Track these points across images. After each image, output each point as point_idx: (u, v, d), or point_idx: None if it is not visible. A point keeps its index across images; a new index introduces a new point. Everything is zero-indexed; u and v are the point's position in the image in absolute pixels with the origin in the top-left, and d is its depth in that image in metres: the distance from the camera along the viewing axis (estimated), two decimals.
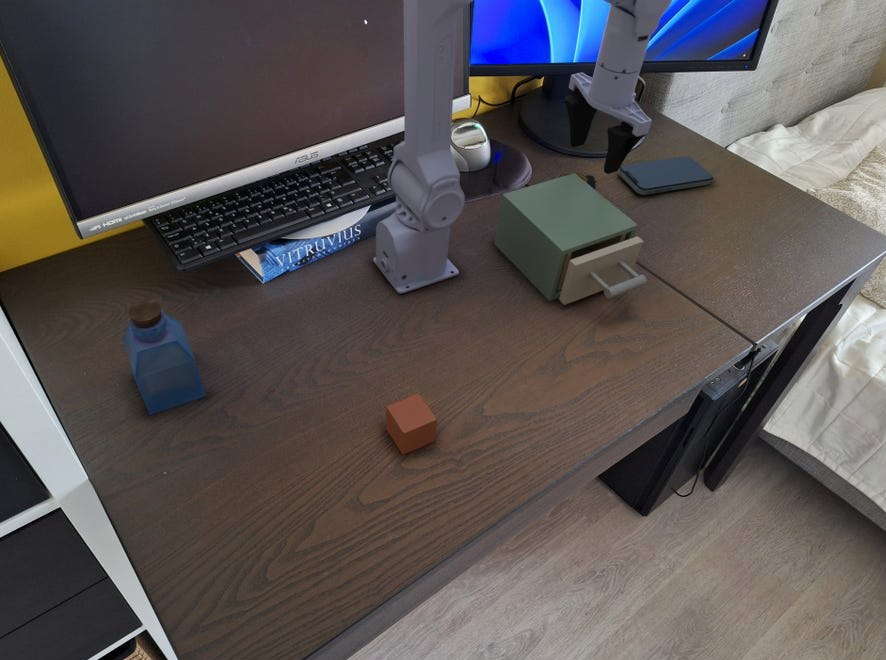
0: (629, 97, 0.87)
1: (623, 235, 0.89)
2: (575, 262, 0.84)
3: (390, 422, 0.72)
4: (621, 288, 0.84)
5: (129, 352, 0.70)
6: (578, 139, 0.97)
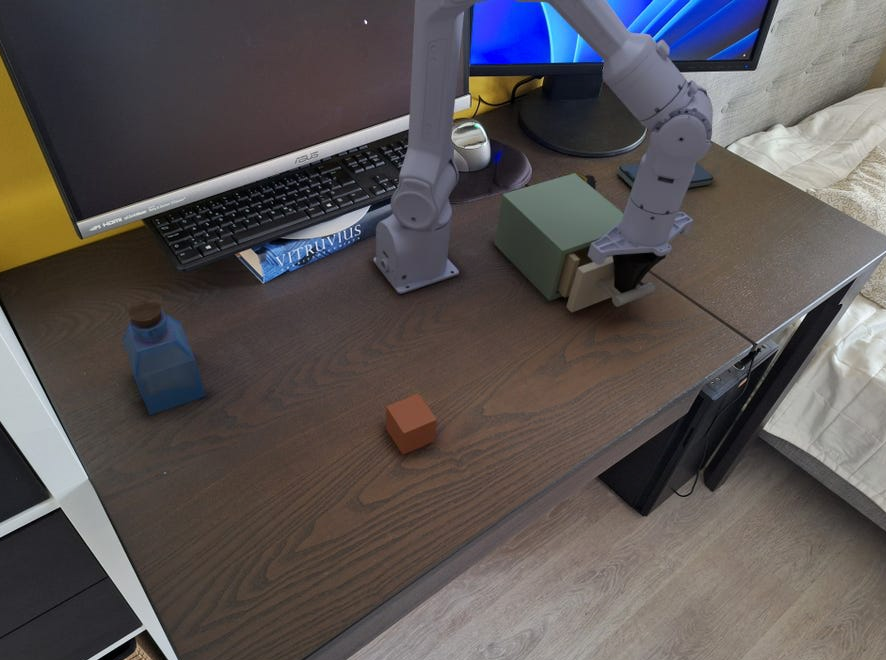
0: (632, 233, 0.77)
1: None
2: (583, 270, 0.83)
3: (390, 422, 0.72)
4: (630, 296, 0.83)
5: (129, 352, 0.70)
6: None
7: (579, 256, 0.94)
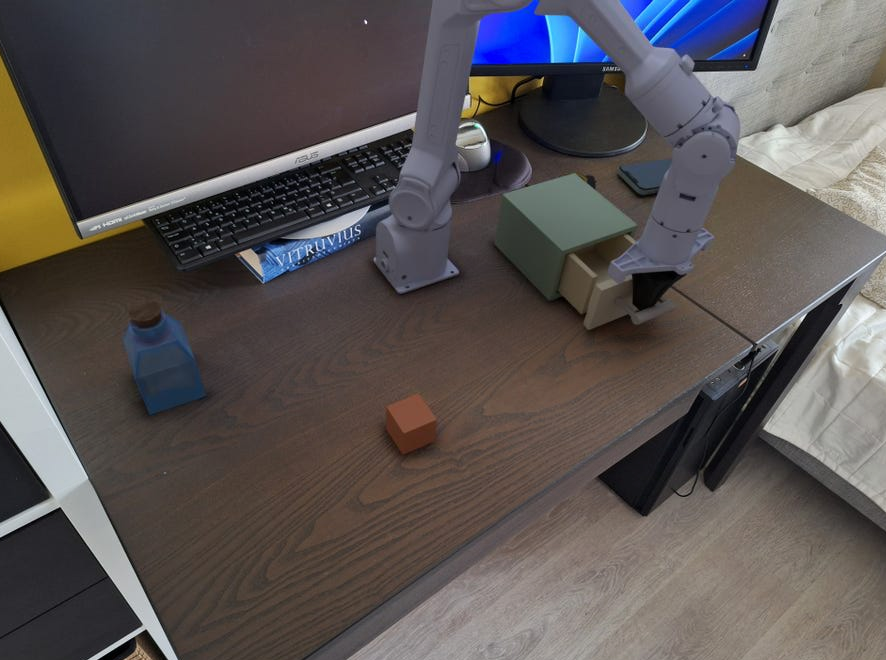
0: (653, 250, 0.75)
1: None
2: (601, 287, 0.81)
3: (390, 422, 0.72)
4: (649, 314, 0.81)
5: (129, 352, 0.70)
6: None
7: (595, 271, 0.92)
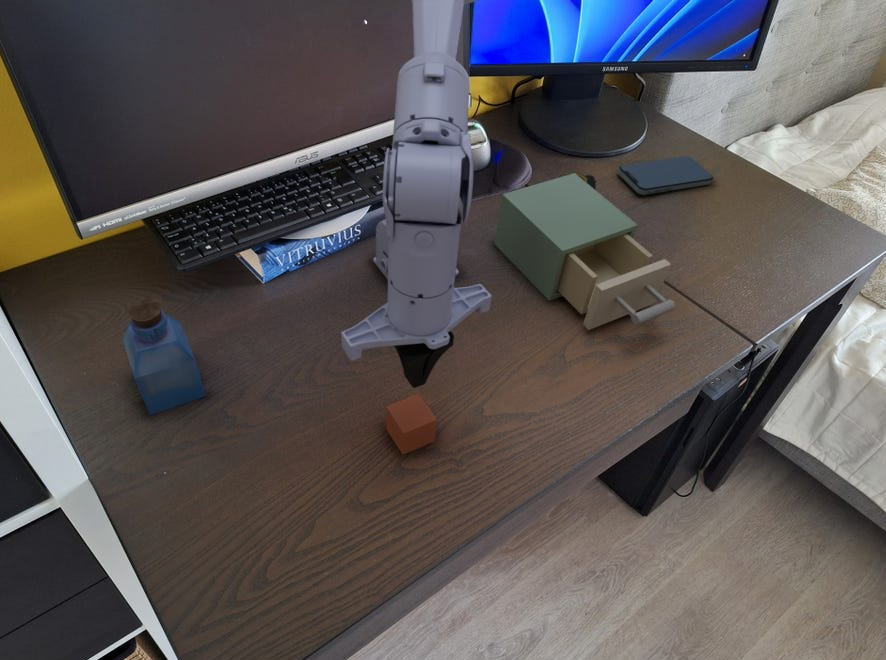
0: (395, 318, 0.58)
1: (649, 258, 0.86)
2: (601, 287, 0.81)
3: (390, 422, 0.72)
4: (649, 314, 0.81)
5: (129, 352, 0.70)
6: None
7: (595, 271, 0.92)
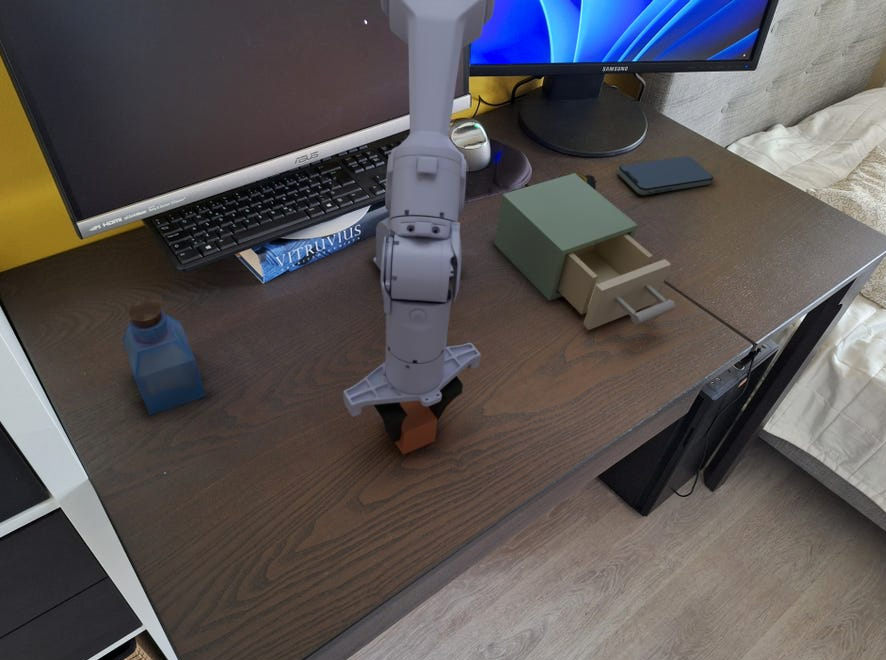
0: (392, 378, 0.64)
1: (649, 258, 0.86)
2: (601, 287, 0.81)
3: None
4: (649, 314, 0.81)
5: (129, 352, 0.70)
6: None
7: (595, 271, 0.92)
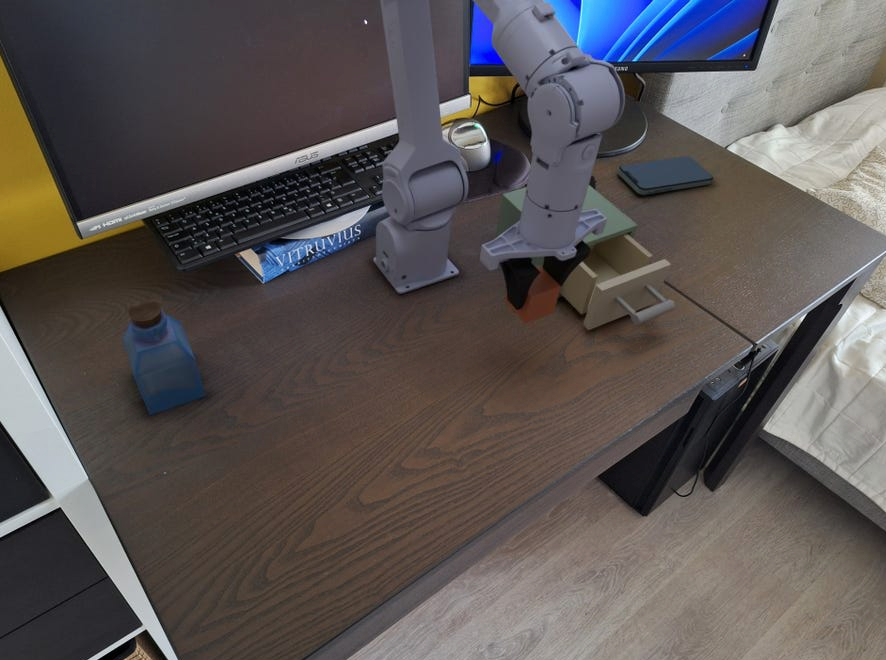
0: (529, 233, 0.66)
1: (649, 258, 0.86)
2: (601, 287, 0.81)
3: None
4: (649, 314, 0.81)
5: (129, 352, 0.70)
6: None
7: (595, 271, 0.92)
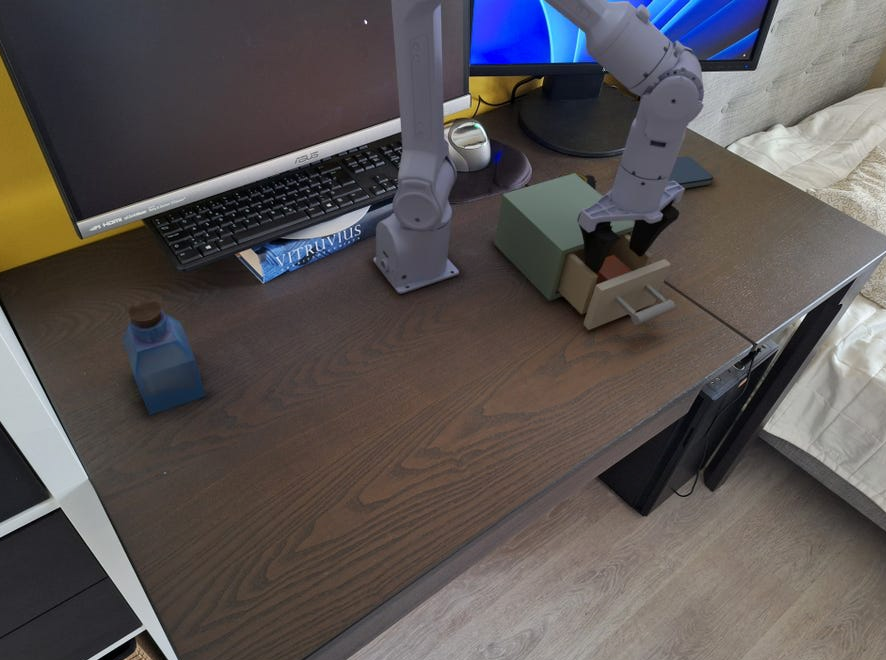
0: (623, 199, 0.76)
1: (649, 258, 0.86)
2: (601, 287, 0.81)
3: None
4: (649, 314, 0.81)
5: (129, 352, 0.70)
6: (635, 244, 0.86)
7: None
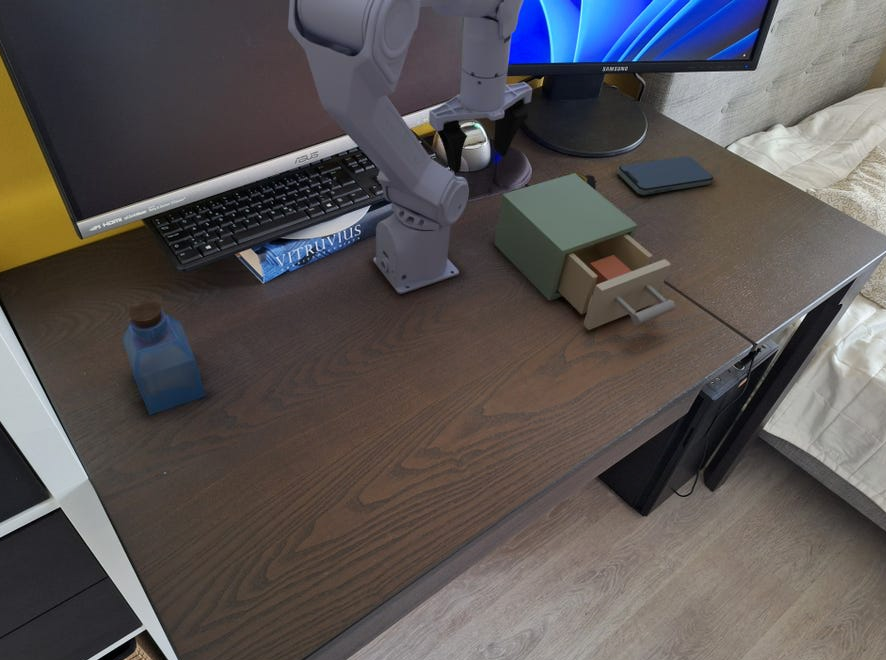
0: (466, 99, 0.84)
1: (649, 258, 0.86)
2: (601, 287, 0.81)
3: None
4: (649, 314, 0.81)
5: (129, 352, 0.70)
6: (497, 144, 0.93)
7: None
